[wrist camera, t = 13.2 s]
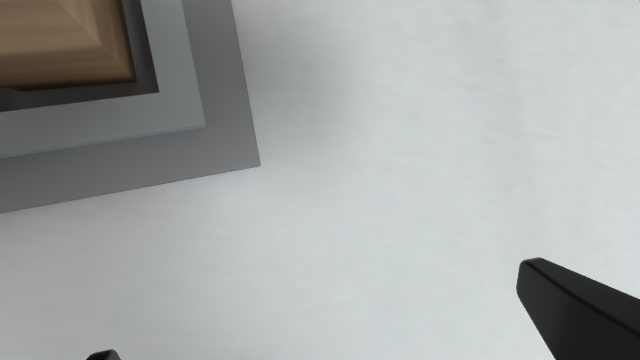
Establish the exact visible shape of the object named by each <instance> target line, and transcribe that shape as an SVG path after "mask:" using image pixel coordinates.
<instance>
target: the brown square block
mask: <svg viewBox="0 0 640 360" xmlns="http://www.w3.org/2000/svg"><path fill="white" fill-rule="evenodd" d="M132 82H137V79H136V74H135V68H134V63H133V57H132V51H131V46H130V40H129V35H128V29H127V24H126V18H125V13H124V7H123V1H122V0H0V85H2V86H5V87H8V88H11V89H14V90H17V91H21V92H24V91H36V90H48V89H60V88H72V87H84V86H96V85H108V84H120V83H132Z"/></svg>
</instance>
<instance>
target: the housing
mask: <svg viewBox="0 0 640 360" xmlns="http://www.w3.org/2000/svg"><path fill="white" fill-rule="evenodd" d="M122 1H123V7H124V13H125V18H126V24H127V29H128V35H129V40H130V46H131V51H132V57H133V63H134V68H135V74H136V79H137V82H132V83H120V84H108V85H96V86H84V87H72V88H60V89H48V90H36V91H24V92H21V91H17V90H14V89H11V88H8V87H5V86H2V85H0V213H5V212H11V211H16V210H22V209H27V208H33V207H38V206H44V205H49V204H55V203H60V202H66V201H71V200H77V199H82V198H88V197H93V196H99V195H104V194H110V193H115V192H121V191H126V190H132V189H137V188H143V187H148V186H154V185H159V184H165V183H170V182H176V181H181V180H187V179H192V178H198V177H203V176H209V175H214V174H220V173H225V172H231V171H236V170H242V169H247V168H253V167H258V166H261V163H260V158H259V153H258V147H257V142H256V136H255V131H254V125H253V120H252V114H251V109H250V103H249V98H248V92H247V87H246V81H245V76H244V70H243V65H242V59H241V54H240V48H239V43H238V37H237V32H236V26H235V21H234V16H233V10H232V5H231V0H122Z"/></svg>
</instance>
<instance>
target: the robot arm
mask: <svg viewBox="0 0 640 360" xmlns="http://www.w3.org/2000/svg"><path fill="white" fill-rule="evenodd" d="M516 289H517V294H518V297H519V299H520V301H521V302H522V304H523V306H524V307H525V309H526V311H527V313H528V314H529V316H530V318H531V319H532V321H533V323H534V324H535V326H536V328H537V330H538V331H539V333H540V335H541V336H542V338H543V340H544V341H545V343H546V345H547V346H548V348H549V350H550V351H551V353H552V355H553V356H554V358H555V359H556V360H640V299H638V298H635V297H633V296H631V295H628V294H626V293H624V292H621V291H619V290H616V289H614V288H612V287H609V286H607V285H605V284H602V283H600V282H597V281H595V280H593V279H590V278H588V277H586V276H583V275H581V274H579V273H576V272H574V271H571V270H569V269H567V268H564V267H562V266H560V265H557V264H555V263H552V262H550V261H548V260H545V259H543V258H532V259H527V260H524V261H522V262H521V263H520V266H519V273H518V279H517V286H516ZM86 360H121V359H120V357H119V356H118V354H117V352H116V351H115V350H111V349H110V350H105V351H101V352H96V353H93V354H92V355H90V356H89V357H88V358H87V359H86Z"/></svg>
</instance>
